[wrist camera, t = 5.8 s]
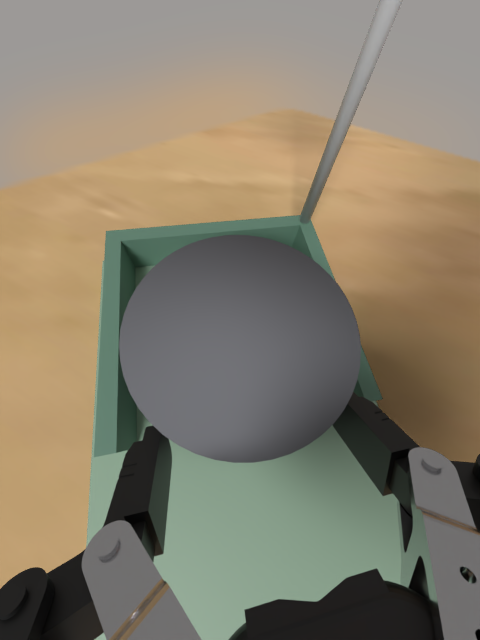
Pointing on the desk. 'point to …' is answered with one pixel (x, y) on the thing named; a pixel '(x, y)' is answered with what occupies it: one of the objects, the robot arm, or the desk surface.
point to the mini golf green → (246, 478)
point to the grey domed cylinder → (240, 348)
